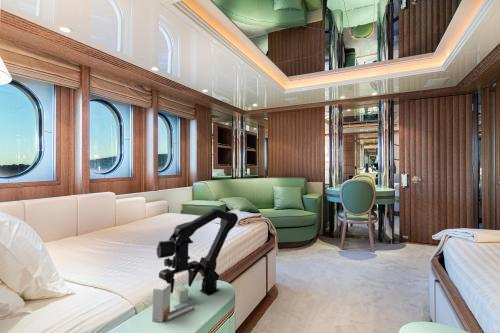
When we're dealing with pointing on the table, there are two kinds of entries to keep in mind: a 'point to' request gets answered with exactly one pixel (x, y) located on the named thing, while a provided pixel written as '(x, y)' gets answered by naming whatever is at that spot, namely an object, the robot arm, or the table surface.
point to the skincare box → (161, 301)
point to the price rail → (179, 312)
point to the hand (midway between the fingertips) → (180, 289)
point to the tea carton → (180, 293)
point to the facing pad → (182, 304)
